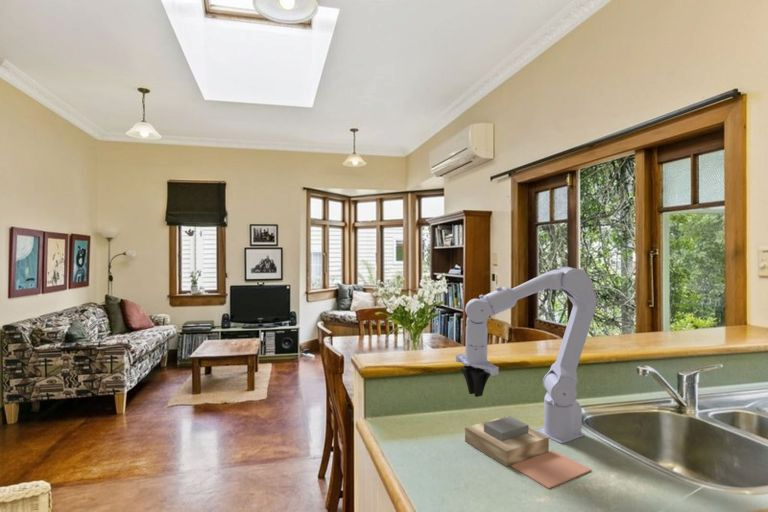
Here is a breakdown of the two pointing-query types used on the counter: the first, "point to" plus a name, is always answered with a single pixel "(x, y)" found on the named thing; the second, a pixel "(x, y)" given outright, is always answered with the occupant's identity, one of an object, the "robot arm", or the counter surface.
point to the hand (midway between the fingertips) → (475, 394)
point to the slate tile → (506, 428)
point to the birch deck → (507, 444)
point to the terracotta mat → (551, 469)
